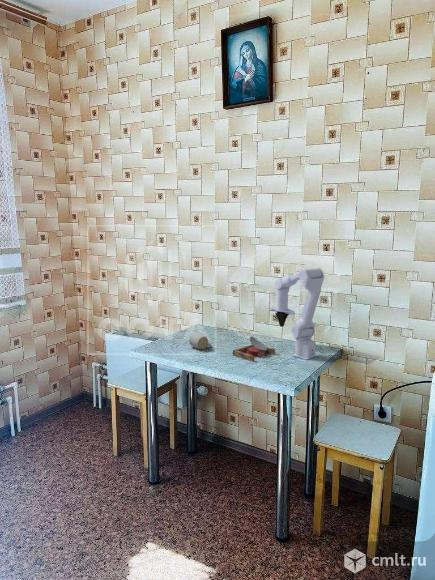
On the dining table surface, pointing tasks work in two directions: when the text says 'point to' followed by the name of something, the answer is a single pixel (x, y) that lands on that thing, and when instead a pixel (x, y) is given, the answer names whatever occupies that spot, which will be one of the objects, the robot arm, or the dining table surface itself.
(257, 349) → the canned food
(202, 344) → the ceramic mug
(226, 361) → the dining table surface
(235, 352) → the brown wooden u-shaped piece
